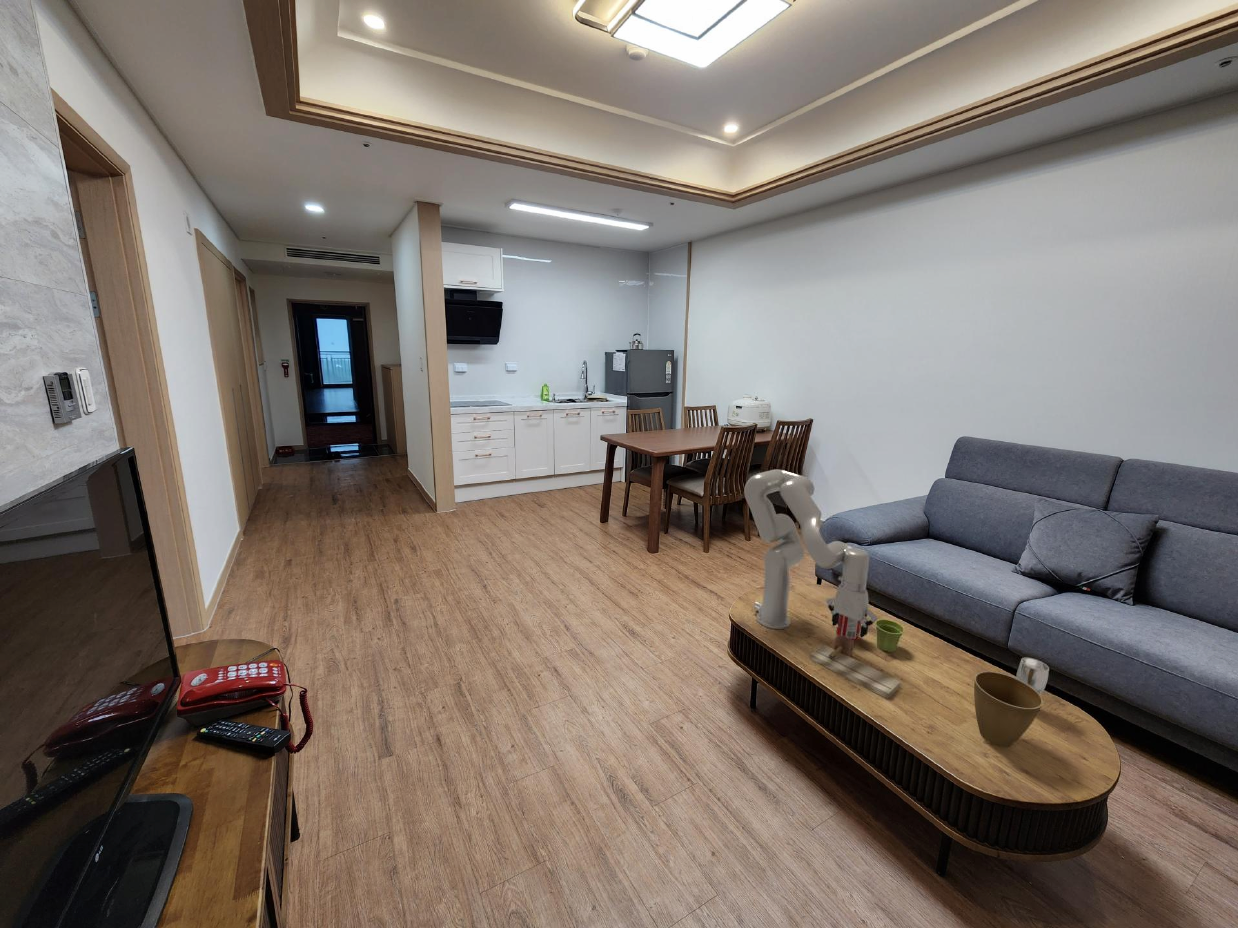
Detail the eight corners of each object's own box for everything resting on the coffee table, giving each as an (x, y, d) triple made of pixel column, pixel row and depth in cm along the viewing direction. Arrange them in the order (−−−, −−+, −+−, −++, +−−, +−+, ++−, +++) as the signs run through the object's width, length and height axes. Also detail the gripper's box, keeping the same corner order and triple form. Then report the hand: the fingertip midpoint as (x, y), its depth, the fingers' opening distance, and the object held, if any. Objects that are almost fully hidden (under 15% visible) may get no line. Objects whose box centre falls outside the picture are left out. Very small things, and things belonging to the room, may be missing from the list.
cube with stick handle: (822, 660, 172) (825, 645, 171) (838, 649, 179) (840, 634, 178) (836, 668, 168) (839, 652, 167) (852, 655, 175) (854, 640, 174)
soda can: (847, 645, 181) (852, 608, 178) (831, 633, 188) (836, 597, 185) (863, 641, 184) (869, 604, 181) (846, 629, 191) (852, 594, 188)
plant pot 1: (906, 652, 178) (910, 630, 176) (887, 657, 175) (891, 635, 173) (884, 638, 187) (888, 617, 185) (865, 642, 183) (869, 621, 181)
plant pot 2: (952, 727, 143) (962, 678, 139) (984, 712, 149) (995, 666, 145) (1009, 766, 130) (1022, 714, 126) (1042, 749, 136) (1055, 698, 132)
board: (809, 658, 173) (810, 653, 172) (822, 649, 179) (823, 643, 178) (887, 699, 154) (888, 693, 153) (899, 686, 159) (900, 681, 159)
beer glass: (1004, 702, 154) (1014, 659, 150) (1019, 697, 156) (1029, 655, 153) (1029, 717, 147) (1040, 673, 144) (1044, 712, 150) (1055, 668, 146)
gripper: (824, 579, 174) (819, 623, 177) (875, 596, 161) (869, 644, 164) (834, 573, 178) (830, 616, 182) (884, 589, 165) (879, 636, 169)
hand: (848, 629), depth 173 cm, fingers open, 9 cm apart
